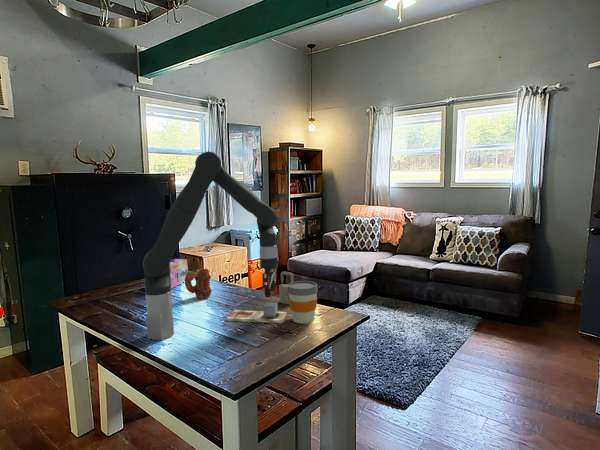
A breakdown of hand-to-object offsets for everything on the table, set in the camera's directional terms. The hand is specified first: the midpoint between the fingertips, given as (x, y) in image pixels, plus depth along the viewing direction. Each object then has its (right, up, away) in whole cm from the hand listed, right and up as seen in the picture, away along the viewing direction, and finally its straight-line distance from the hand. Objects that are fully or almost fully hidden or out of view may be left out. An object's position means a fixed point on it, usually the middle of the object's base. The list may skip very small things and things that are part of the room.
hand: (270, 293), depth 160 cm
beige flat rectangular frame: (-6, -11, +2) cm, 12 cm away
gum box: (-60, -6, +57) cm, 83 cm away
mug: (-38, -8, +31) cm, 50 cm away
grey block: (0, -11, +1) cm, 11 cm away
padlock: (+7, -8, +21) cm, 24 cm away
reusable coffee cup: (+14, -11, -1) cm, 18 cm away
